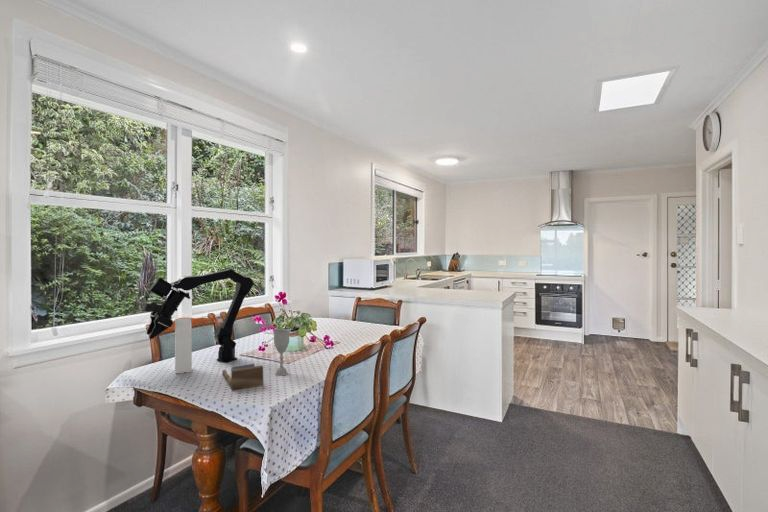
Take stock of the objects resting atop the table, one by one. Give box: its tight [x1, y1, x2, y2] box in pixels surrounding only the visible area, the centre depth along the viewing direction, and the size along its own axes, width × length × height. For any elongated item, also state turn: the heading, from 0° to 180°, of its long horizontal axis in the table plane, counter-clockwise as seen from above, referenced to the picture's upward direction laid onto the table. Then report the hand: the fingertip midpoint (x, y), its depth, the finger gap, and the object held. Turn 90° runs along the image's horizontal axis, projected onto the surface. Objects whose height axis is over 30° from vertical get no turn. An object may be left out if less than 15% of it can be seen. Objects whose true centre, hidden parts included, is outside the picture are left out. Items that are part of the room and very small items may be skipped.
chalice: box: [272, 328, 291, 377], centre depth 163 cm, size 7×7×18 cm
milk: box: [174, 317, 193, 374], centre depth 166 cm, size 6×6×22 cm
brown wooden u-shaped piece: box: [221, 365, 264, 391], centre depth 156 cm, size 20×11×7 cm, turn 32°
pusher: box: [230, 363, 255, 371], centre depth 154 cm, size 1×8×6 cm, turn 122°
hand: (148, 336), depth 163 cm, fingers open, 9 cm apart
